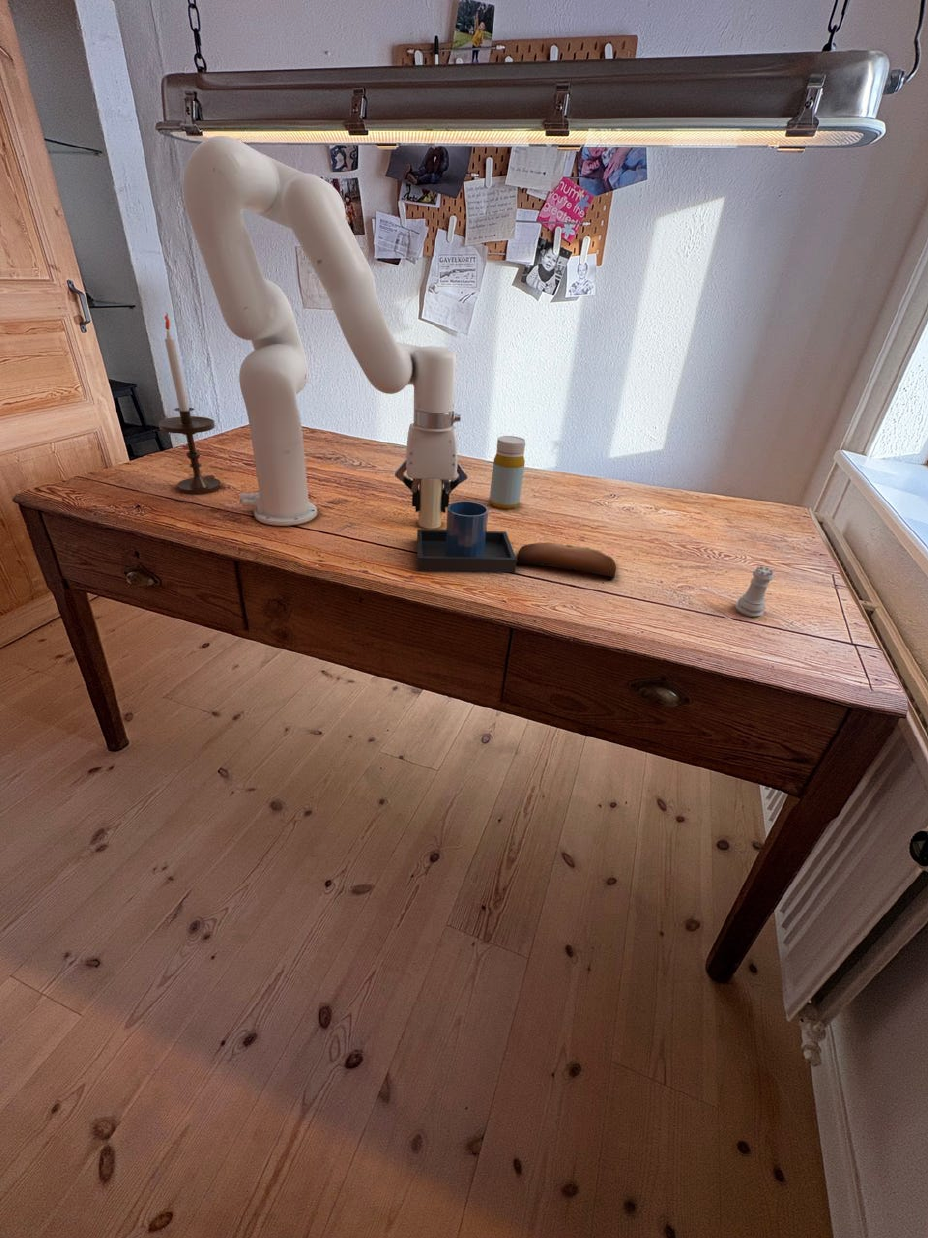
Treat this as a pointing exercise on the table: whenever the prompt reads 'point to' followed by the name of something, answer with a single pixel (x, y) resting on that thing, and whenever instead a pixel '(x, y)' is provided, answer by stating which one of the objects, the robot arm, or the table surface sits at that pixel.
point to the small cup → (430, 503)
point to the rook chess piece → (755, 593)
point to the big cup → (466, 529)
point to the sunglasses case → (567, 558)
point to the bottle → (507, 472)
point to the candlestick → (187, 425)
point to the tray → (435, 559)
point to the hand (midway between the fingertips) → (430, 508)
